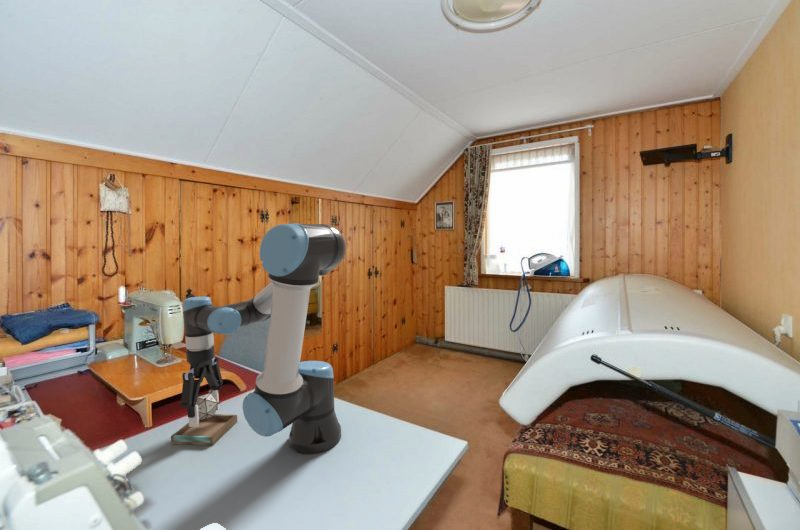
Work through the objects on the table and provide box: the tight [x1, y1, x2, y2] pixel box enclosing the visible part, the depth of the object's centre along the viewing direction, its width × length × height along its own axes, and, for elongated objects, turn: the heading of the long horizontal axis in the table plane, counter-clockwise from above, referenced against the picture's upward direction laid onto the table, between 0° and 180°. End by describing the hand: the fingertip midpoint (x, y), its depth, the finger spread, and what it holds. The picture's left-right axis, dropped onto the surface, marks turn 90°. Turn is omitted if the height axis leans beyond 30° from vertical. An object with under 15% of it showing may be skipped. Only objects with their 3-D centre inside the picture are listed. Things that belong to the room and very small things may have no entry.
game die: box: [196, 391, 221, 420], centre depth 109 cm, size 9×8×10 cm
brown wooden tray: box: [170, 413, 238, 446], centre depth 109 cm, size 13×13×2 cm
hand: (205, 417), depth 109 cm, fingers closed on game die, 9 cm apart
